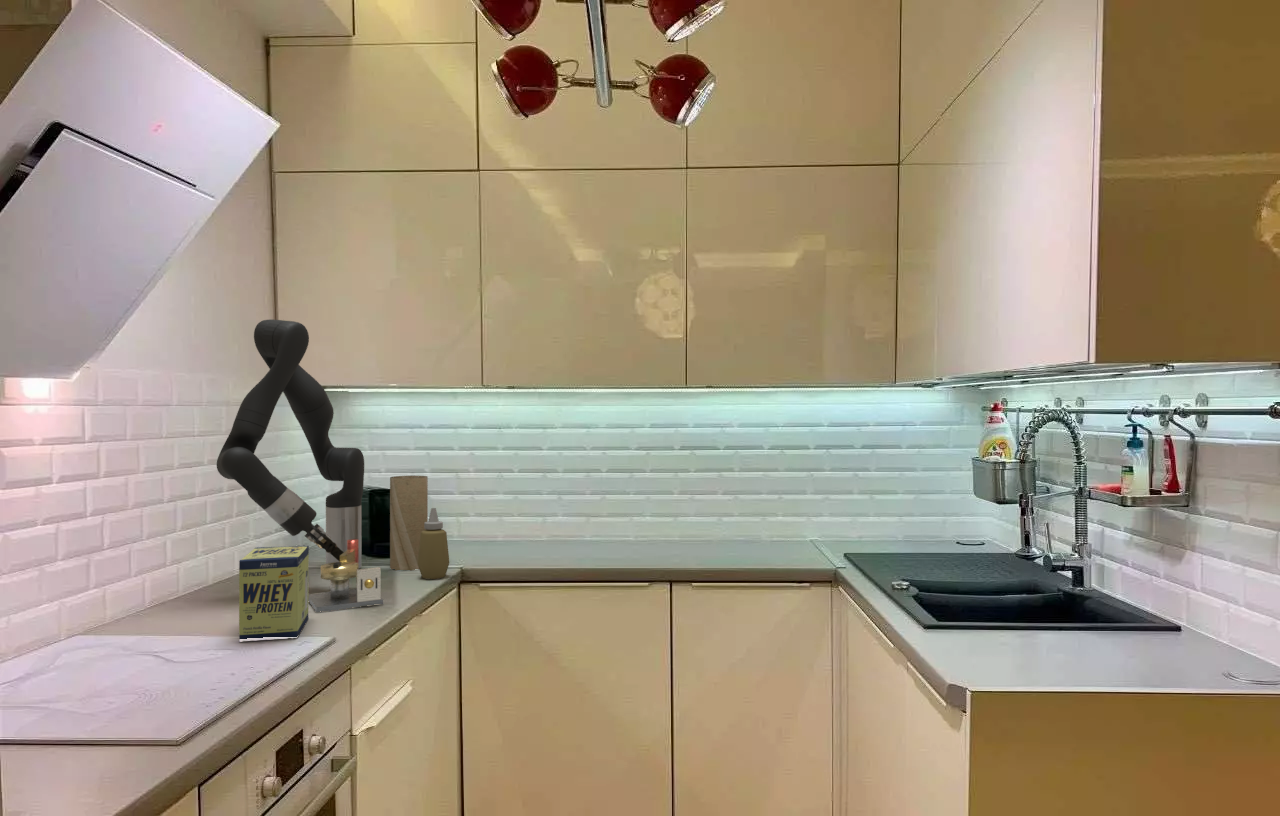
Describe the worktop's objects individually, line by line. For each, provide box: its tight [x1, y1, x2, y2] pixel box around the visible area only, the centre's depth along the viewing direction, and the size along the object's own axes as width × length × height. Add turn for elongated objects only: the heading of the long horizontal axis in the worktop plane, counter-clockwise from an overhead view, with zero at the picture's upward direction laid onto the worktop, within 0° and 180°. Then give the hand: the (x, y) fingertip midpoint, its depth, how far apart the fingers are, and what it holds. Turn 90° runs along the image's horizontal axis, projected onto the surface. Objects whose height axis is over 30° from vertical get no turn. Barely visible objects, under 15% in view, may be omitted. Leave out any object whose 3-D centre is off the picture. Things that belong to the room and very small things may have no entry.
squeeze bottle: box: [418, 507, 450, 580], centre depth 207 cm, size 8×8×18 cm
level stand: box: [308, 566, 384, 613], centre depth 180 cm, size 15×14×8 cm
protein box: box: [238, 545, 310, 639], centre depth 158 cm, size 10×16×16 cm
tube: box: [389, 475, 429, 571], centre depth 220 cm, size 10×10×25 cm
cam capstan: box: [320, 539, 359, 581], centre depth 185 cm, size 19×8×6 cm, turn 8°
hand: (344, 559), depth 193 cm, fingers closed
